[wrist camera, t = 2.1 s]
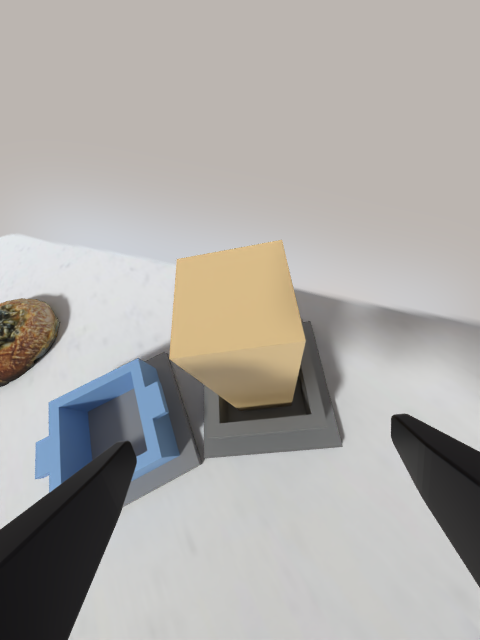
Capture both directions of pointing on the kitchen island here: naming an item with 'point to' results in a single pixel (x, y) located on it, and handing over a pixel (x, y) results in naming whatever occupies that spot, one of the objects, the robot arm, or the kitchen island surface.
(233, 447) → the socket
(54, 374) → the kitchen island surface
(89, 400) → the blue bezel socket
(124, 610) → the kitchen island surface
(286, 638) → the kitchen island surface
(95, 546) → the robot arm
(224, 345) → the tall tan pillar
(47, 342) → the bread roll
